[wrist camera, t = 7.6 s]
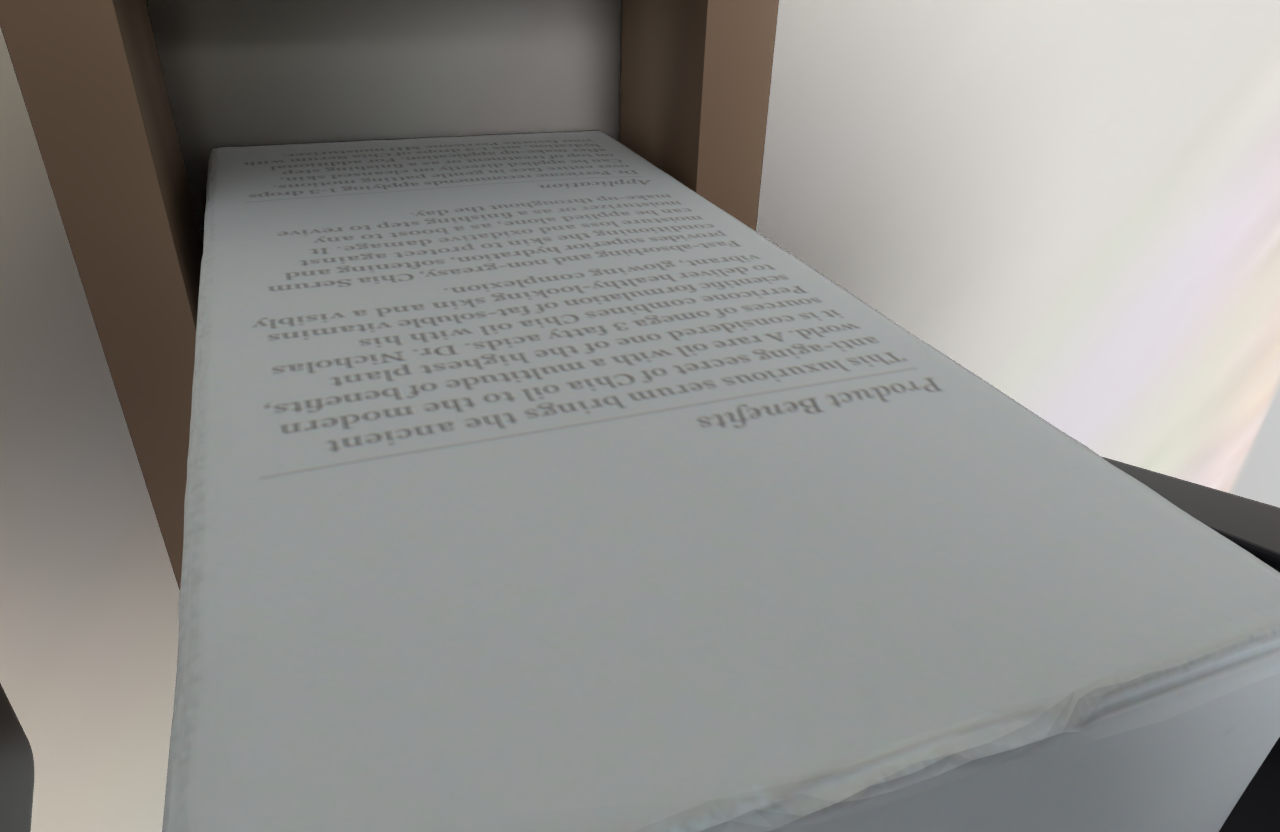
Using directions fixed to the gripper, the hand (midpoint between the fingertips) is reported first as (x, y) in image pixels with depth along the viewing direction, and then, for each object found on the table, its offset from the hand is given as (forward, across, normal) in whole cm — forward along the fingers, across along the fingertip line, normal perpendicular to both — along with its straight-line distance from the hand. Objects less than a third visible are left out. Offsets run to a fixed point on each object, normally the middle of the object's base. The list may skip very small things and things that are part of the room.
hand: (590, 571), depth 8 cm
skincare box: (+8, 0, 0) cm, 8 cm away
